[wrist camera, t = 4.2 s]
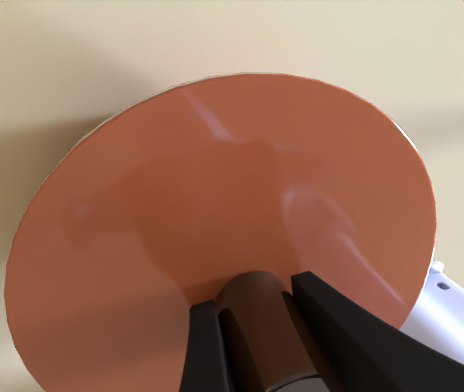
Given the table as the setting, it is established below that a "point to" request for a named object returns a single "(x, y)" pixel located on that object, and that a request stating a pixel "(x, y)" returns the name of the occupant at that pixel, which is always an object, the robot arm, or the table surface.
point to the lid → (217, 235)
